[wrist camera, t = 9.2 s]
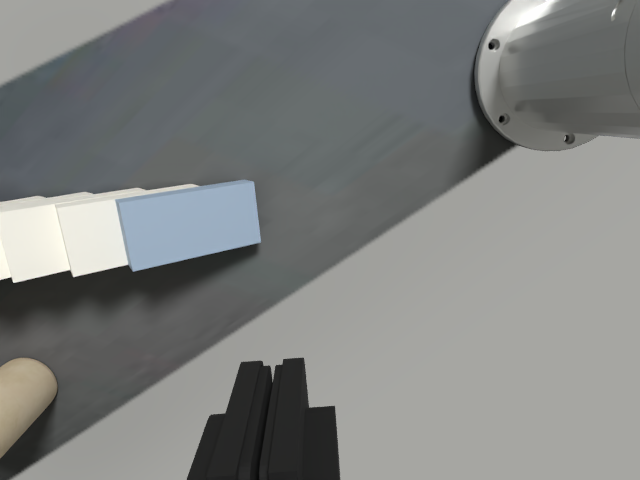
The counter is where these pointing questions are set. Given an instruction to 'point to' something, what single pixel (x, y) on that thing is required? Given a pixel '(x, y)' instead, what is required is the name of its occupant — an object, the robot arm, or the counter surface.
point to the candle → (23, 397)
